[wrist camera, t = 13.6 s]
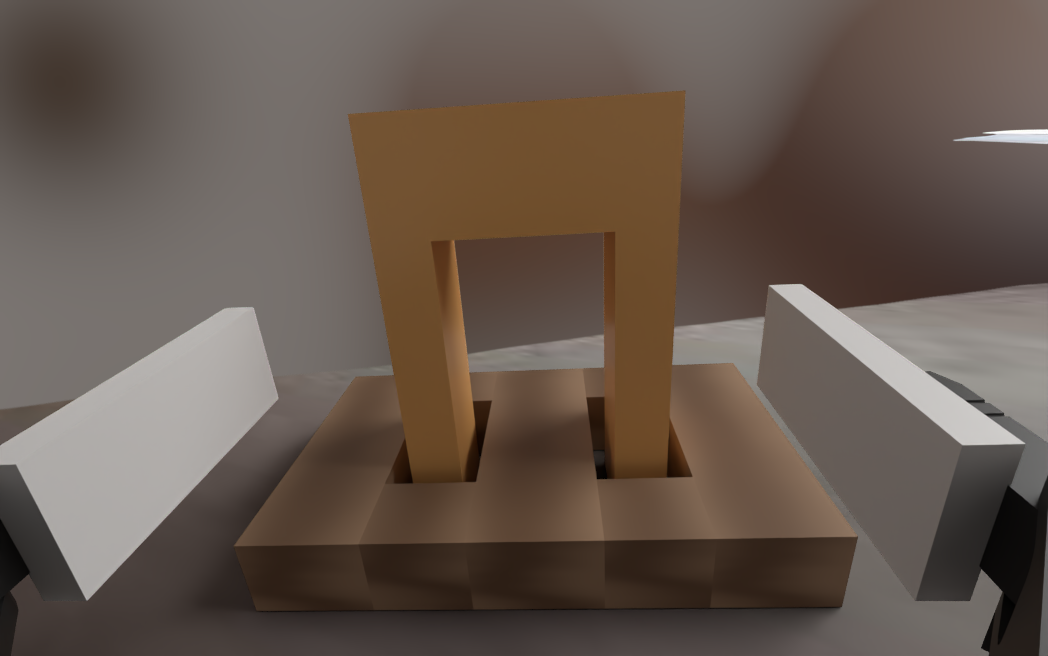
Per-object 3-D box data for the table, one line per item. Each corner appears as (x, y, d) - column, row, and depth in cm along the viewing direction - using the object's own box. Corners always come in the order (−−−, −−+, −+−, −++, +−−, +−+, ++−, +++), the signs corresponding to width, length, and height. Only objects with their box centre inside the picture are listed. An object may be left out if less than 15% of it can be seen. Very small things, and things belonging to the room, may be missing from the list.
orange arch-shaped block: (647, 462, 25) (658, 94, 19) (664, 523, 21) (685, 90, 15) (439, 467, 26) (385, 112, 20) (421, 527, 22) (347, 114, 16)
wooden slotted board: (728, 412, 28) (732, 363, 27) (841, 606, 17) (857, 536, 16) (365, 423, 30) (355, 376, 29) (256, 610, 19) (233, 545, 18)
